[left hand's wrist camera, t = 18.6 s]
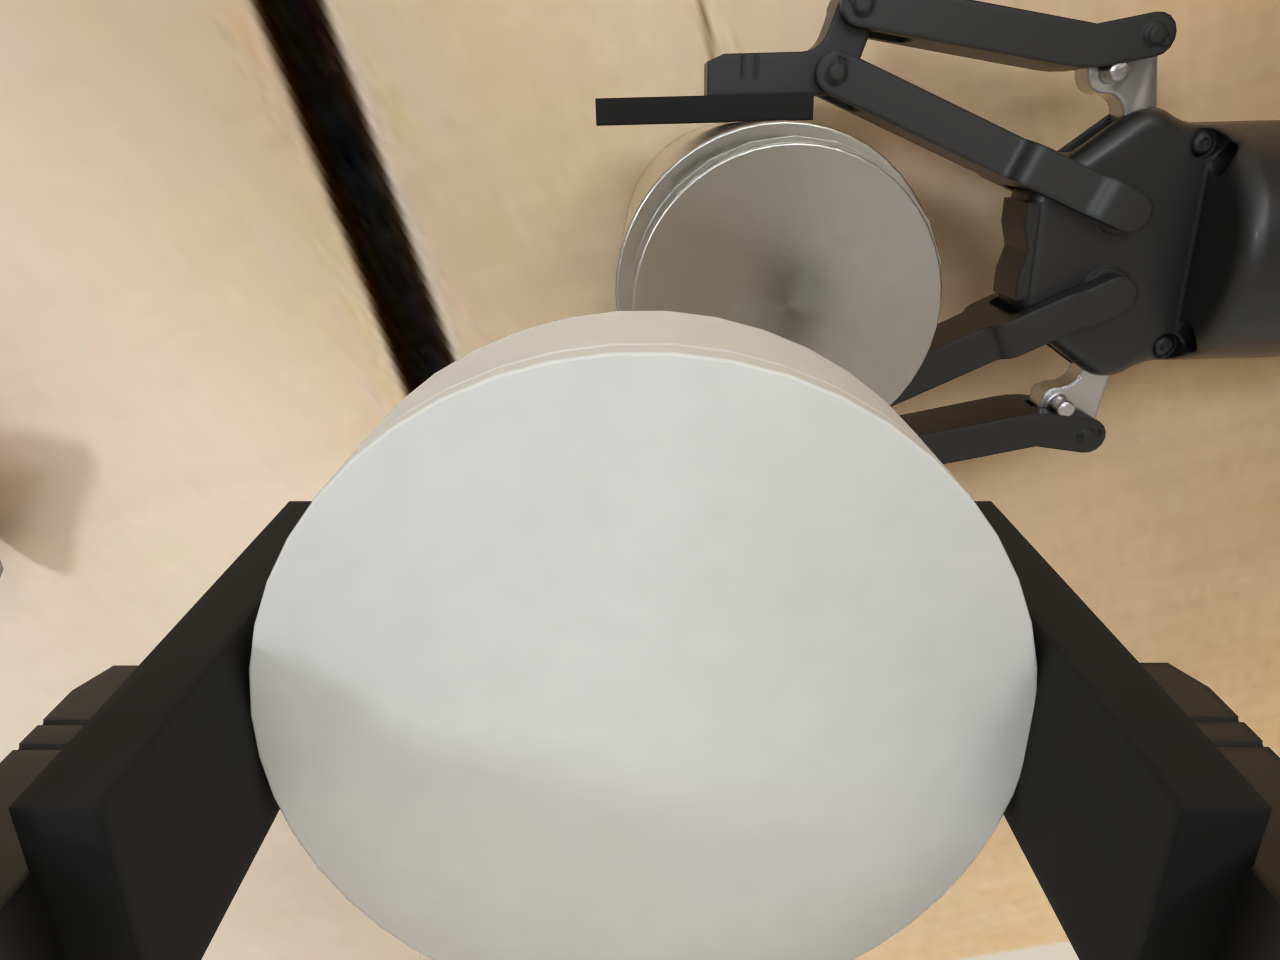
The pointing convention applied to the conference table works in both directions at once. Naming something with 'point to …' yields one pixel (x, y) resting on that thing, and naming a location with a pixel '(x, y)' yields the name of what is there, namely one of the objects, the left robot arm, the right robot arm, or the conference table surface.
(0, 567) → the fish
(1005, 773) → the lid
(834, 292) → the jar
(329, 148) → the conference table surface
